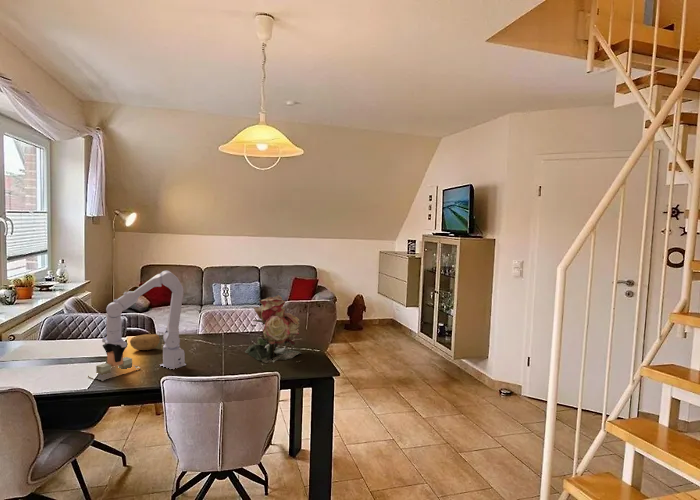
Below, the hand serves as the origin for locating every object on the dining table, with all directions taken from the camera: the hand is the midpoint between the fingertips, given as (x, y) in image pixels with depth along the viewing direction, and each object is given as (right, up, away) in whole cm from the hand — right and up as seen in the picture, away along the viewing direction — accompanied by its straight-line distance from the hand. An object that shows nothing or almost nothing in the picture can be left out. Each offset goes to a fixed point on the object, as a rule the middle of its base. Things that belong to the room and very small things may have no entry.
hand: (114, 360), depth 196 cm
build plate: (0, -6, 0) cm, 6 cm away
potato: (-2, -3, +34) cm, 34 cm away
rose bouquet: (+65, -5, +34) cm, 74 cm away
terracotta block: (0, -2, 0) cm, 2 cm away
